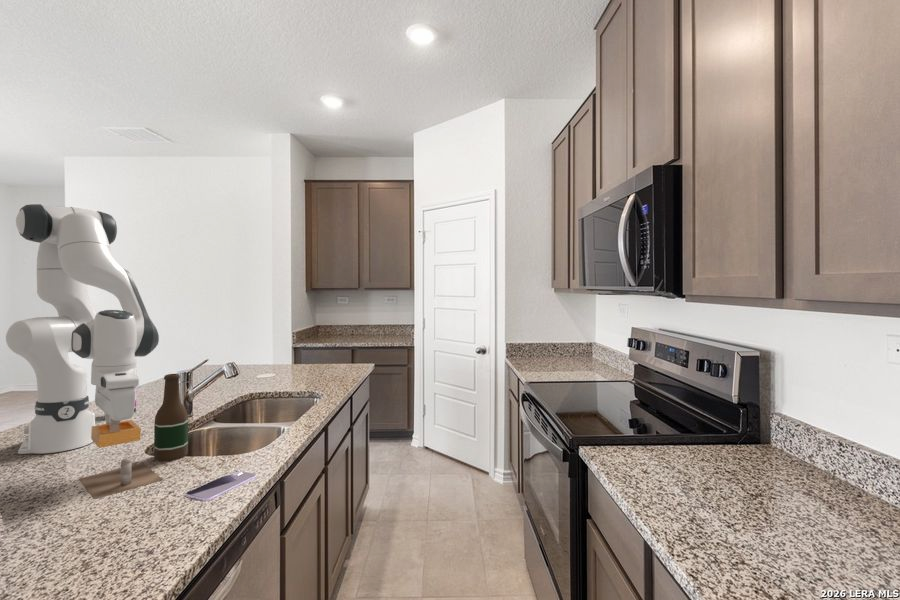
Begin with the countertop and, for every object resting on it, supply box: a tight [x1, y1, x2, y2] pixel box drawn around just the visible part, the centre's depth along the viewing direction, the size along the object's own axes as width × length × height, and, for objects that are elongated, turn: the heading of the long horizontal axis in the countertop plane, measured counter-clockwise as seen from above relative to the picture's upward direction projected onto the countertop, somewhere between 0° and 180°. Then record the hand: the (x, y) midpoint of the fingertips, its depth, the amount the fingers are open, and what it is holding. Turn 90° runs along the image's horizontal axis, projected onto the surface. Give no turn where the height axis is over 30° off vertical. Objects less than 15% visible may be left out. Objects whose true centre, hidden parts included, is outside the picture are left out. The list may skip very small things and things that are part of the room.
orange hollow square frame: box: [91, 419, 142, 449], centre depth 105 cm, size 8×8×3 cm
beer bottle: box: [153, 373, 189, 462], centre depth 117 cm, size 8×8×24 cm
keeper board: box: [78, 457, 164, 500], centre depth 102 cm, size 16×13×8 cm
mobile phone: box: [184, 470, 258, 502], centre depth 103 cm, size 8×1×15 cm
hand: (112, 430), depth 107 cm, fingers closed on orange hollow square frame
